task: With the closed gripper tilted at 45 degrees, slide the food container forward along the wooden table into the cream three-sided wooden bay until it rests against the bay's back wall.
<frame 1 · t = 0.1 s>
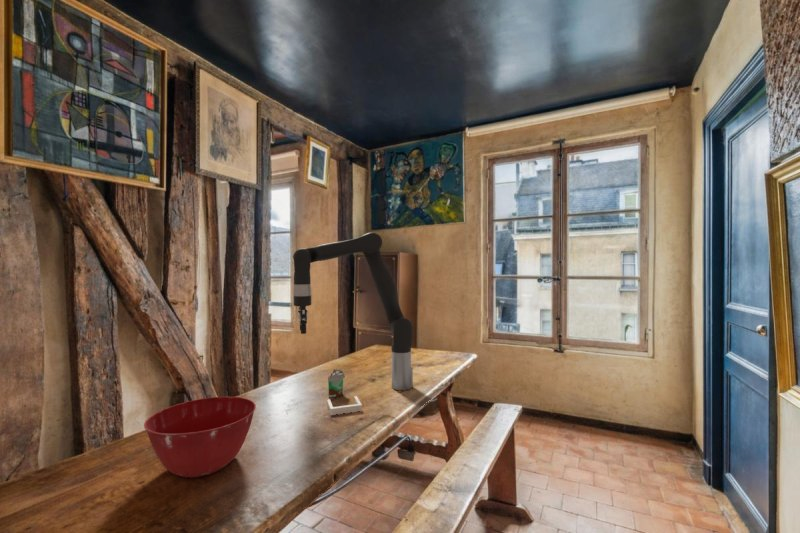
hand: (302, 332, 160), 29 cm above the table, tool pointing down, fingers open, 8 cm apart
bay: (343, 406, 152), on the table
mixing bowl: (204, 465, 108), on the table
food container: (338, 395, 165), on the table
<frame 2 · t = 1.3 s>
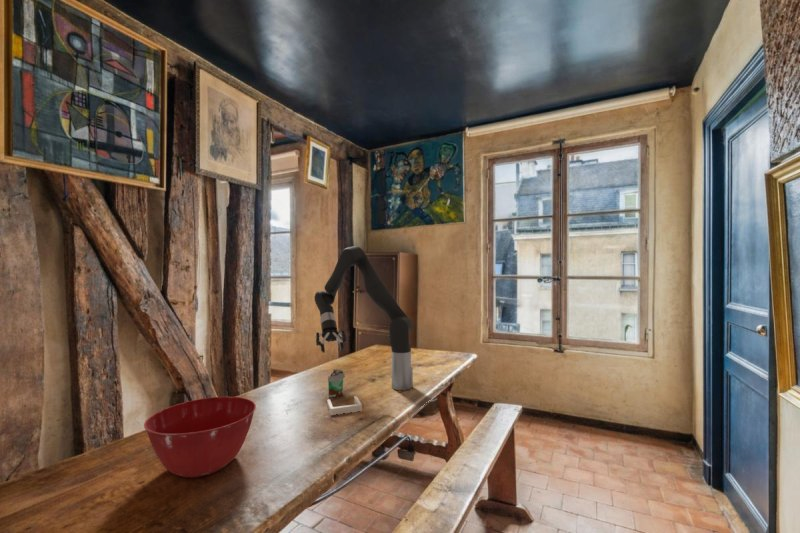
hand: (332, 351, 176), 17 cm above the table, tool tilted 45°, fingers open, 8 cm apart
nothing on the table moved.
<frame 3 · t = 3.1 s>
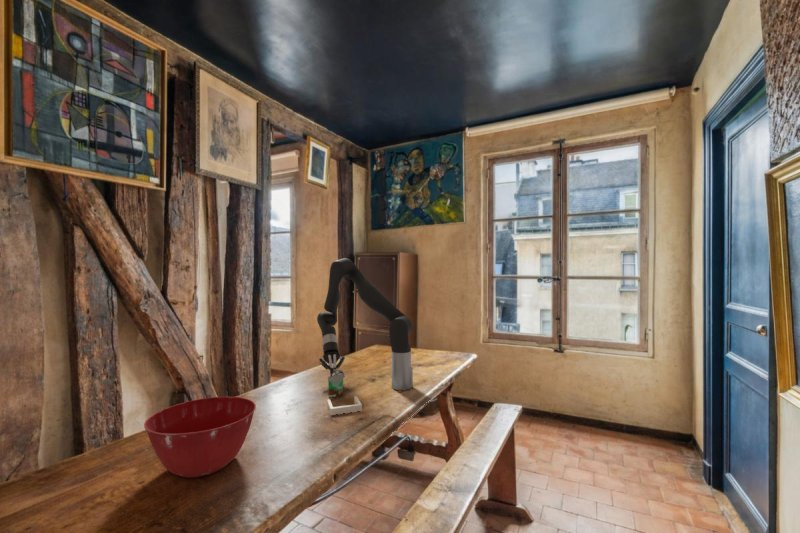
hand: (333, 376, 176), 5 cm above the table, tool tilted 45°, fingers closed
nothing on the table moved.
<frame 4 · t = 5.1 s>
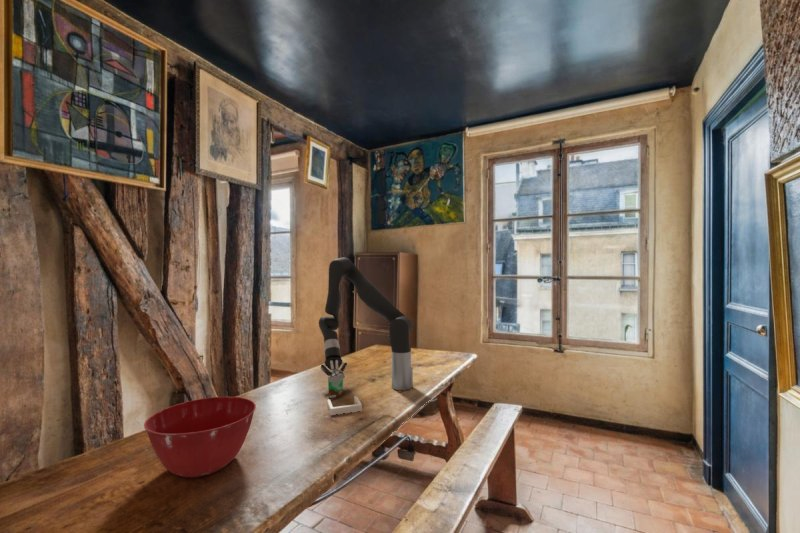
hand: (335, 382, 170), 4 cm above the table, tool tilted 45°, fingers closed
food container: (337, 396, 165), on the table, touching gripper
everything else where it was.
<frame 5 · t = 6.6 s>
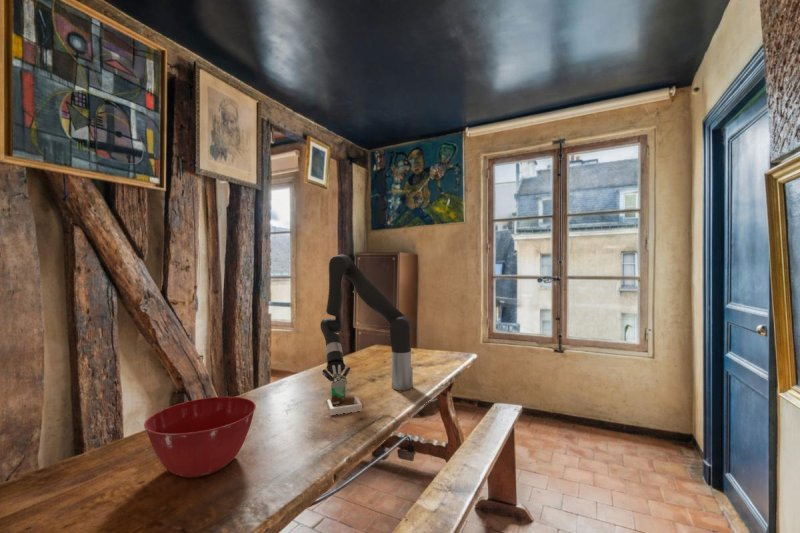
hand: (338, 388, 162), 4 cm above the table, tool tilted 45°, fingers closed
food container: (340, 402, 157), on the table, touching gripper
everything else where it was.
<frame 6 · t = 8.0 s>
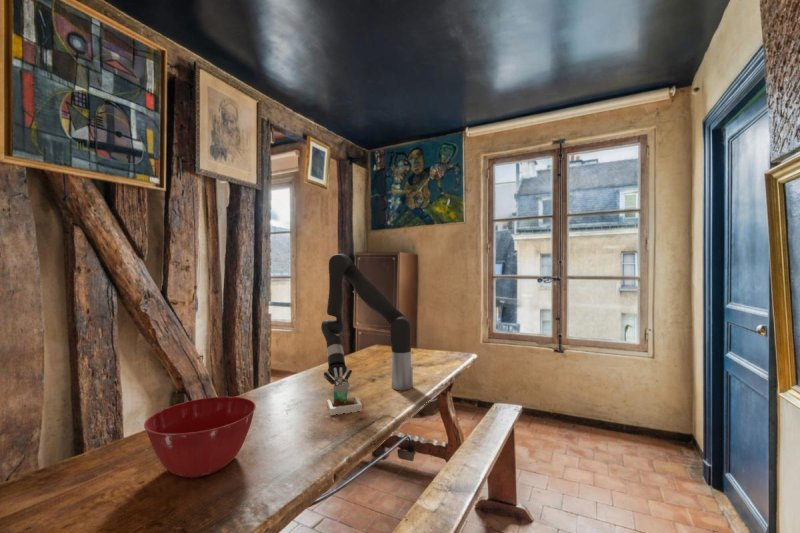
hand: (340, 392, 158), 4 cm above the table, tool tilted 45°, fingers closed
food container: (342, 406, 153), on the table, touching gripper
everything else where it was.
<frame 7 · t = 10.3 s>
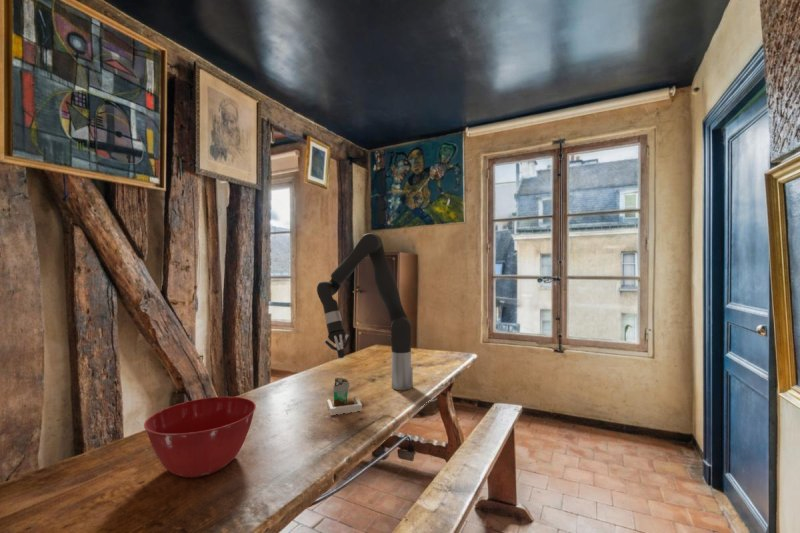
hand: (341, 358, 173), 15 cm above the table, tool tilted 20°, fingers closed
food container: (342, 406, 153), on the table
everything else where it was.
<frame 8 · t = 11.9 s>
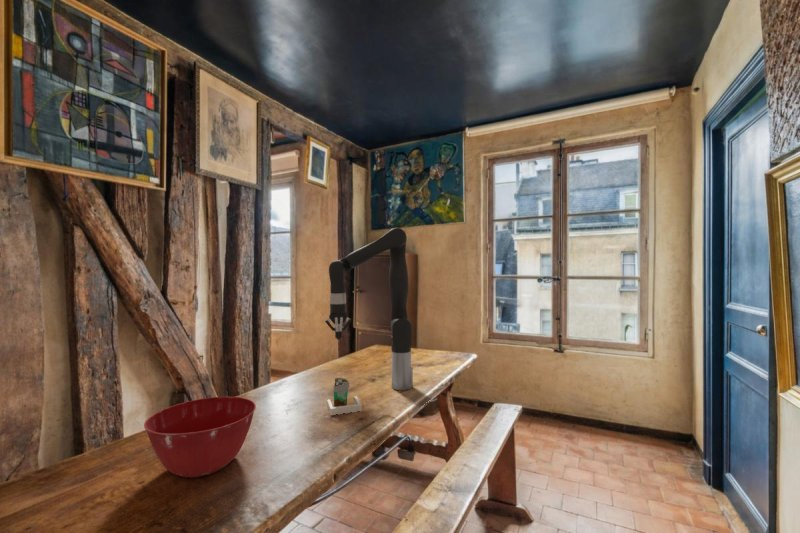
hand: (338, 339, 175), 23 cm above the table, tool pointing down, fingers closed
nothing on the table moved.
at the end: food container 0.4 cm off-centre on the bay, point 0.0 cm above the bay's base; food container tilted 0°; food container moved 13.3 cm from its start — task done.
